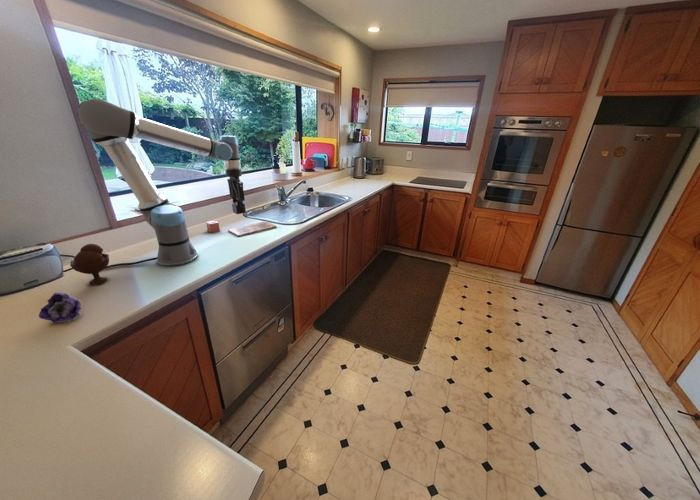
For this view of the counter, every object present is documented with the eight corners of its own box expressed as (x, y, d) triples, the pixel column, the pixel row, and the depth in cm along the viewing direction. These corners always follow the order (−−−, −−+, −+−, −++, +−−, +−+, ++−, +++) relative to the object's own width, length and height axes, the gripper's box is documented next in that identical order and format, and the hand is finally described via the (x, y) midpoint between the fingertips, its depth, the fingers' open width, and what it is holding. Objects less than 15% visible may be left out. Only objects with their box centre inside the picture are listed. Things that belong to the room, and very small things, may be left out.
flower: (40, 294, 87) (43, 291, 80) (79, 294, 93) (84, 292, 87) (35, 325, 85) (37, 324, 78) (74, 323, 91) (80, 322, 85)
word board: (238, 236, 153) (237, 235, 152) (228, 231, 160) (228, 229, 160) (276, 227, 169) (276, 225, 168) (266, 222, 176) (266, 221, 176)
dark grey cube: (237, 214, 150) (235, 204, 148) (233, 212, 153) (231, 202, 151) (246, 212, 153) (244, 203, 151) (241, 210, 156) (240, 201, 154)
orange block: (210, 232, 157) (209, 223, 155) (207, 230, 160) (205, 221, 158) (219, 230, 160) (218, 222, 158) (216, 228, 164) (214, 219, 161)
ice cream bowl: (86, 277, 109) (72, 241, 103) (121, 273, 113) (109, 238, 107) (73, 291, 100) (56, 253, 94) (111, 286, 104) (97, 249, 98)
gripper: (248, 169, 140) (253, 214, 150) (232, 165, 152) (238, 207, 161) (233, 171, 135) (239, 217, 145) (218, 166, 147) (225, 209, 156)
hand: (239, 211), depth 153 cm, fingers closed on dark grey cube, 5 cm apart
